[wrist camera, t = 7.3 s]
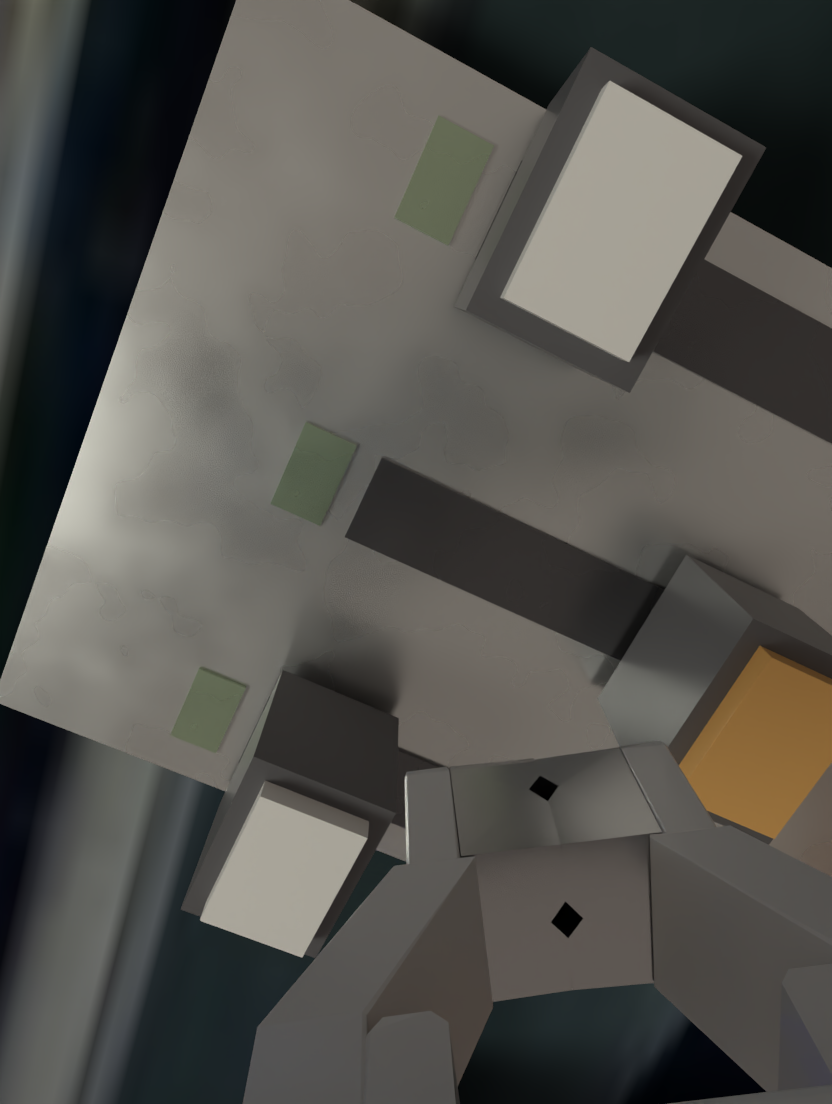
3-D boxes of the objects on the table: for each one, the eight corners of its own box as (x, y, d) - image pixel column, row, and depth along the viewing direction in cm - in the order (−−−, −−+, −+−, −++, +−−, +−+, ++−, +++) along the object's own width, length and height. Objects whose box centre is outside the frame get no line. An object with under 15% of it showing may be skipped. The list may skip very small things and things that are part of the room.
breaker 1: (331, 843, 20) (312, 977, 16) (220, 800, 19) (173, 928, 16) (398, 718, 19) (395, 830, 15) (282, 669, 18) (248, 771, 14)
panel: (728, 941, 24) (756, 1000, 22) (31, 663, 21) (-9, 702, 19) (1104, 445, 19) (1185, 462, 17) (273, -12, 16) (253, -55, 14)
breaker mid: (704, 745, 19) (780, 861, 15) (597, 698, 19) (646, 806, 15) (798, 607, 18) (906, 695, 14) (686, 554, 17) (764, 629, 14)
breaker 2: (583, 371, 16) (638, 397, 12) (454, 306, 16) (468, 310, 12) (685, 180, 15) (781, 141, 11) (548, 104, 15) (599, 36, 11)
